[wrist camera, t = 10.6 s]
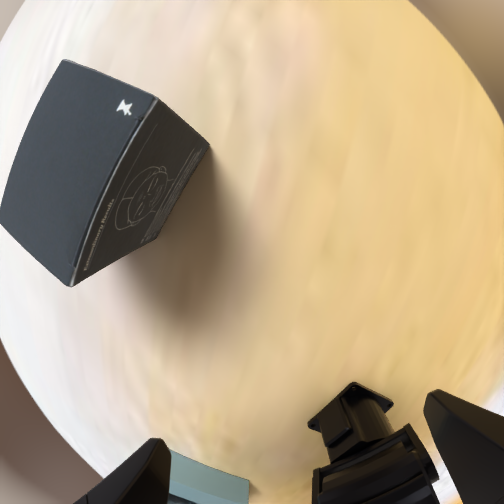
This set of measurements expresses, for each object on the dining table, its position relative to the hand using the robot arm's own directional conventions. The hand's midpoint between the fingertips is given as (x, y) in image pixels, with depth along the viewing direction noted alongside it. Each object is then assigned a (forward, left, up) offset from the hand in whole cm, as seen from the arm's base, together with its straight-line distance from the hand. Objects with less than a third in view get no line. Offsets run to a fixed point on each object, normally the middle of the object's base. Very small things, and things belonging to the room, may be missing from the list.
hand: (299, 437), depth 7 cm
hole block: (-7, +28, -13) cm, 32 cm away
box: (+12, -2, -13) cm, 18 cm away
